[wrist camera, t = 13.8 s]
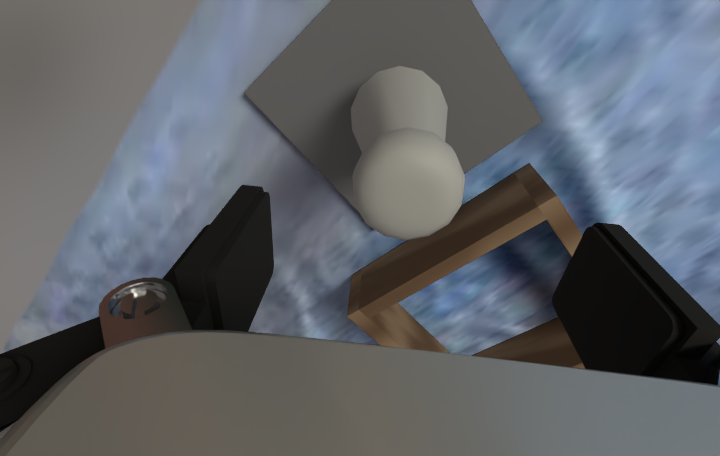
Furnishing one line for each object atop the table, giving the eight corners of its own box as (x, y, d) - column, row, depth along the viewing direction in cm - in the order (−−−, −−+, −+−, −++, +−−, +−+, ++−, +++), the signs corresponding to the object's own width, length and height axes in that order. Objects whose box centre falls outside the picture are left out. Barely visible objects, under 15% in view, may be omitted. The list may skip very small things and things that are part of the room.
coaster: (539, 118, 25) (542, 121, 24) (377, 227, 30) (377, 231, 30) (417, -88, 19) (418, -90, 19) (246, 90, 25) (243, 92, 24)
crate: (618, 301, 33) (652, 346, 29) (455, 371, 39) (464, 416, 35) (529, 163, 26) (557, 195, 22) (351, 275, 33) (346, 316, 29)
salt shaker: (414, 162, 26) (436, 284, 15) (340, 129, 25) (307, 234, 14) (459, 84, 23) (526, 165, 12) (377, 42, 22) (370, 91, 11)
